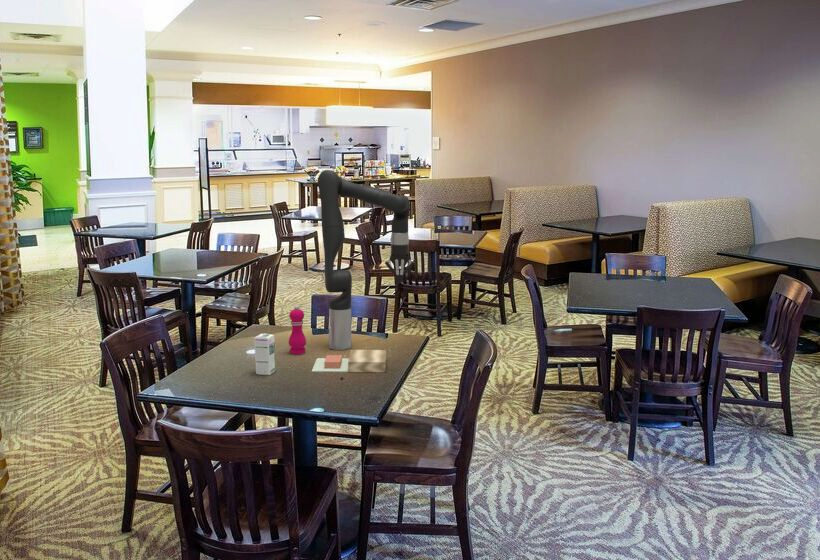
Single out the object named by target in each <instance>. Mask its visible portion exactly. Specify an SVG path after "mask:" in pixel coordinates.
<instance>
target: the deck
mask: <svg viewBox="0 0 820 560" xmlns="http://www.w3.org/2000/svg"><path fill="white" fill-rule="evenodd" d="M348 358H349V360H348V372H347V373H386V365H387V349H351V350H350V354H349V357H348Z"/></svg>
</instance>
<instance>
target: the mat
mask: <svg viewBox="0 0 820 560" xmlns="http://www.w3.org/2000/svg"><path fill="white" fill-rule="evenodd" d="M325 359H326V357H325V358H323V357H321V358H320V357H318V358H316V360H315V362H314V364H313V367H312V370H311V372H312V373H349V372H348V360H349V357H347V358H345V357H342V364H341V367H340V368H324V362H325Z"/></svg>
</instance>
